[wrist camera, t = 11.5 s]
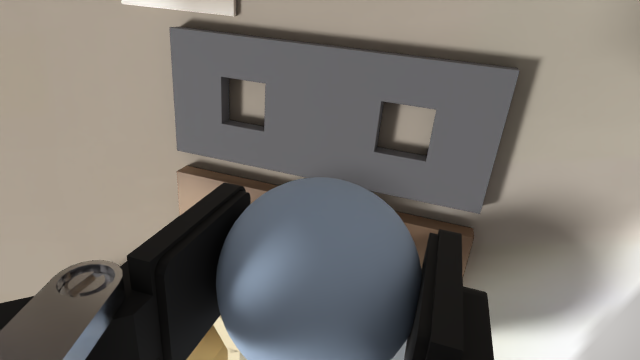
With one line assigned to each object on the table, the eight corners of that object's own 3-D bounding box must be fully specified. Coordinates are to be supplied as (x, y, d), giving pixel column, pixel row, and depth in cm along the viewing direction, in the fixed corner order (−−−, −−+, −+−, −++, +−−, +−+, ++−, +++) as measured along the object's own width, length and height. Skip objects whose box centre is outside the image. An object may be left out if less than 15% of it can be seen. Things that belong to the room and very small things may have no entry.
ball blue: (270, 136, 12) (161, 213, 8) (445, 168, 11) (436, 281, 6) (265, 275, 14) (178, 398, 10) (412, 314, 13) (388, 475, 8)
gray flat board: (179, 26, 26) (169, 27, 25) (517, 68, 21) (519, 70, 20) (185, 146, 29) (177, 150, 28) (479, 206, 24) (479, 213, 23)
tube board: (113, -108, 24) (97, -113, 23) (561, -95, 18) (567, -101, 17) (154, 293, 36) (145, 301, 35) (431, 380, 30) (430, 394, 29)
